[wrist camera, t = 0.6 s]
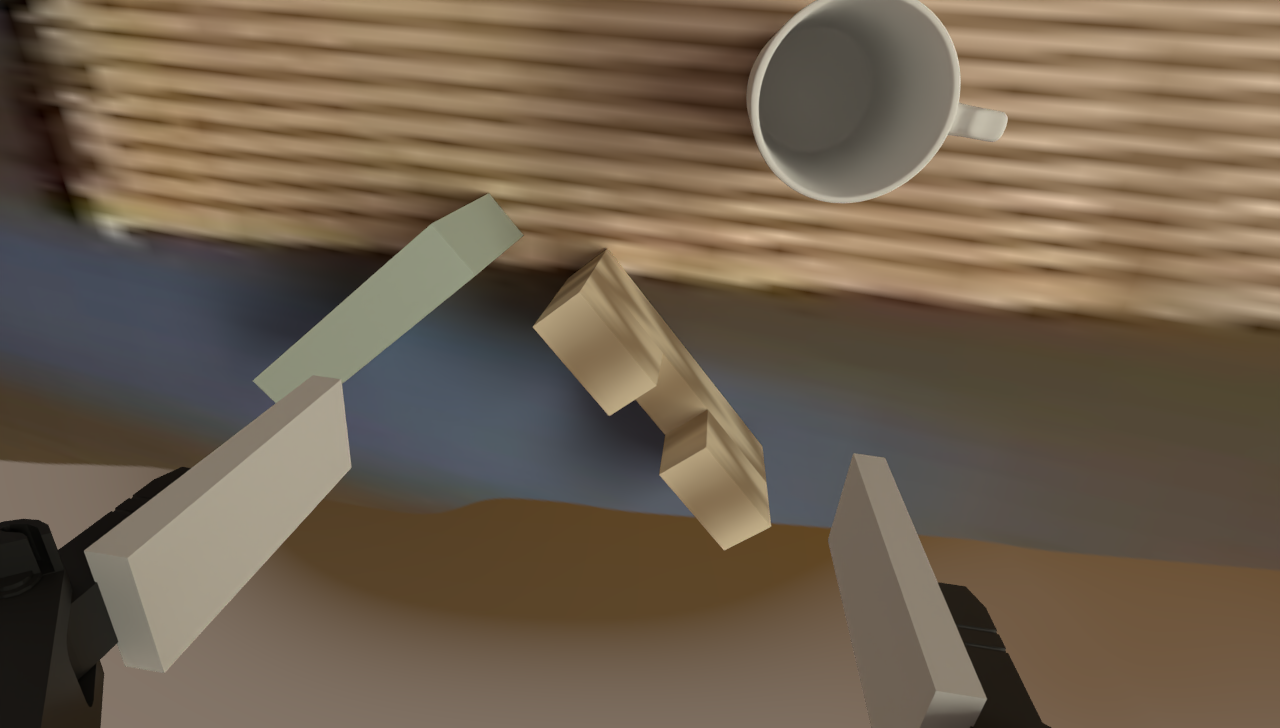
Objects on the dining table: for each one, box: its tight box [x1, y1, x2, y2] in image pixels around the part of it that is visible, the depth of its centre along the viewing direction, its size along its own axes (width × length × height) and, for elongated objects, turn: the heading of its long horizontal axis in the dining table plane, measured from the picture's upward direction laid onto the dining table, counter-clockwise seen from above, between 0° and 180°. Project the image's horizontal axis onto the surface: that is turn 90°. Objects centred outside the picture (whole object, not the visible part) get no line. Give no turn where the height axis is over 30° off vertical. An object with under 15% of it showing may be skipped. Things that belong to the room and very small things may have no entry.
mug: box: [746, 0, 1008, 203], centre depth 27 cm, size 10×7×12 cm, turn 80°
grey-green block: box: [253, 193, 524, 403], centre depth 35 cm, size 3×14×8 cm, turn 128°
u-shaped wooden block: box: [533, 249, 771, 550], centre depth 36 cm, size 16×3×8 cm, turn 38°
